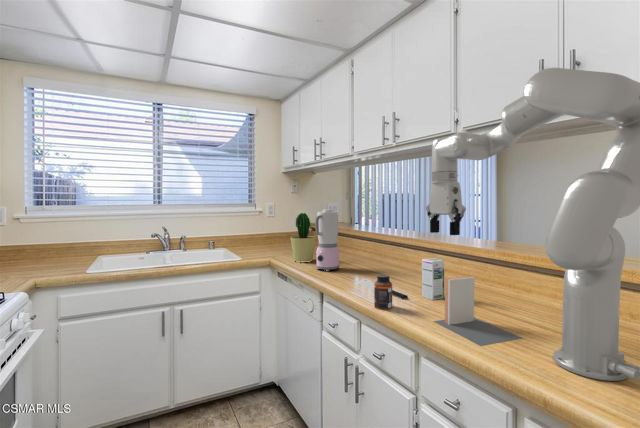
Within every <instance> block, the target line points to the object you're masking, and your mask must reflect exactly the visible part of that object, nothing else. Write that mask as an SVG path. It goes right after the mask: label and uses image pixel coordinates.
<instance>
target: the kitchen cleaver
mask: <svg viewBox="0 0 640 428" xmlns="http://www.w3.org/2000/svg"><path fill="white" fill-rule="evenodd" d="M354 282H355V283H358V284H360V285H363V286H365V287H367V288H369V289H372V290H374V284H375V282H372V281H371V280H370V279H368V278H365V279H361V280H357V281H354ZM392 297H396V298H397V297H398V299H400V300H401V299H402V300H404V299H405V300H408V299H409V297H408V295H407V294H405V293H401V292H398V291H396V290H393V289H392Z"/></svg>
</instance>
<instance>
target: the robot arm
mask: <svg viewBox="0 0 640 428" xmlns="http://www.w3.org/2000/svg"><path fill="white" fill-rule="evenodd" d="M565 115H566V116H571V117H577V118H581V119H586V120H590V121H594V122H597V123H601V124H605V125H606V124H607V125H610V126H613V127H615V128H616V134H615V135H614V136H613V138H612V140H611V141H610V142H609V144H608V145H607V148H605V151H604V154H603V157H602V159H601V162H600V164H599V165H598V167H597V170H593V171H588V172H585V173H583V174H581V175H579V176H578V177H576V178H575V179H574V180H573V181H572V182H570V183H569V185H568V186H567V188H566V189H565V191H564V193H563V195H562V197H561V199H560V202H559V204H558V206H557V210H556V212H555V213H554V217H553V219H552V221H551V224H550V226H549V229H548V231H547V232H546V238H545V241H544V242H545V243H544V245H545V246H544V248H545V252H546V255H547V257H548V258H549V260H550V261H551V262H552V263H553V264H554V265H555V266H557V267H559V268H561V269H563V270H565V271H564V276H563V290H562V291H563V292H562V324H561V326H562V330H561V332H562V333H561V334H562V335H561V337H562V338H561V348H560V349H556V350H555V351H554V352H553V356H552V357H553V360H554V362H555V363H556V364H557V365H559V367H561V368H563V369H565V370H567V371H569V372H571V373H574V374H577V375H579V376H582V377H586V378H590V379H595V380H599V381H610V382H617V381H618V382H619V381H622V380H623V381H624V380H625V379H627V378H630V379H632V380H634V381H638V380H640V366H638V365H635V364H633V363H629V362H627V361H626V359H625V353H624V352H621V351H619V341H620V339H619V337H620V334H619V333H620V306H621V304H620V301H621V283H622V273H623V267H624V261H625V257H626V255H625V254H626V243H625V240H624V238H623V236H622V234H621V233H620V232H619V231H618V229H616V228H615V227H614V226H615V224H616V223H617V219H622V218H626V217H628V216H631V215H632V214H634V213H635V212H636V211H637V210H639V209H640V82H639V81H637V80H634V79H632V78H630V77H629V76H628V77H627V76H624V75H622V74H618V73H612V72H605V71H603V72H602V71H594V70H583V69H572V68H562V67H548V68H544V69H541V70H539V71H538V72H536V73H535V74H534V75H533V76H531V77H530V78H529V79H528V81H526V84H525V86H524V88H523V95H522V96H520V98H518V99H516V100H514V101H513V102H511V103H509V104H507V105H505V107H503V108H502V110H501V122H500V123H499V125H497V126H496V127H494V128H492V129H490V130H488V131H486V132H484V133H483V134H479V133H473V132H463V131H462V132H456V133H454V134H451V135H449V136H446V137H445V136H444V137H440V138H436V139H434V140H433V141H432V143H431V185H430V190H429V191H430V193H429V204H428V205H426V206H425V210H426V213H427V214H426V215H427V217H428V220H429V233H431V234H437V233H438V234H439V233H440V219H439V218H440V216H441V215H442V216H444V215H446V216H448V217H449V219H450V221H449V235H450V236H459V235H461V234H460V230H461V225H460V224H461V222H462V219H463V218H464V216H465V213H466V210H467V207H466V206H465V205H464V204H463V201H462V200H463V199H462V190H461V185H460V182H459V181H458V177H459V175H458V173H459V172H458V160H470V161H483V160H487V159H489V158H492V157H493V156H495V155H498V154H500V153H502V152H505V151H506V150H507V149H509V148H510V147H512V146H513V145H514V144H515V143H516V142H517V141H518V140H519V139H520V138H521V136H523V135H525V134H527V133H530V132H532V131H533V130H535V129H537V128H539V127H542V126H544V125H546V124H548V123H549V122H553V120H557V119H558V118H560V117H563V116H565Z"/></svg>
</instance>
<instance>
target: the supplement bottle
mask: <svg viewBox="0 0 640 428" xmlns="http://www.w3.org/2000/svg"><path fill="white" fill-rule="evenodd" d="M376 279H377V280H376V281H374V292H373V293H374V296H373V297H374V300H373V301H374V304H373V305H374V309H376V310H380V311H381V310H383V311H389V310H391V309H392V308H393V295H392V290H393V283H392V282H391V280H390V275H388V274H384V273H383V274H377V276H376Z"/></svg>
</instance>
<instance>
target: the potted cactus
mask: <svg viewBox="0 0 640 428" xmlns="http://www.w3.org/2000/svg"><path fill="white" fill-rule="evenodd" d="M311 223H312V221H311V219H310V217H309V215H308V214H306V212H304V213H303V212H300V213H298V215H297V216H296V217H295V222H294V224H295V228H296V229H297V231H296V232H297V233H298V234H297V235H294V236H290V242H291V243H290V244H291V249H292V257H293V261H294V260H295V261H311V260H313V261H314V255H315V254H314V252H315V244H316V238H317V237H316V236H314V235H313V236H312V235H309V234H310V229H311V228H310V227H311V225H312V224H311Z"/></svg>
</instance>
